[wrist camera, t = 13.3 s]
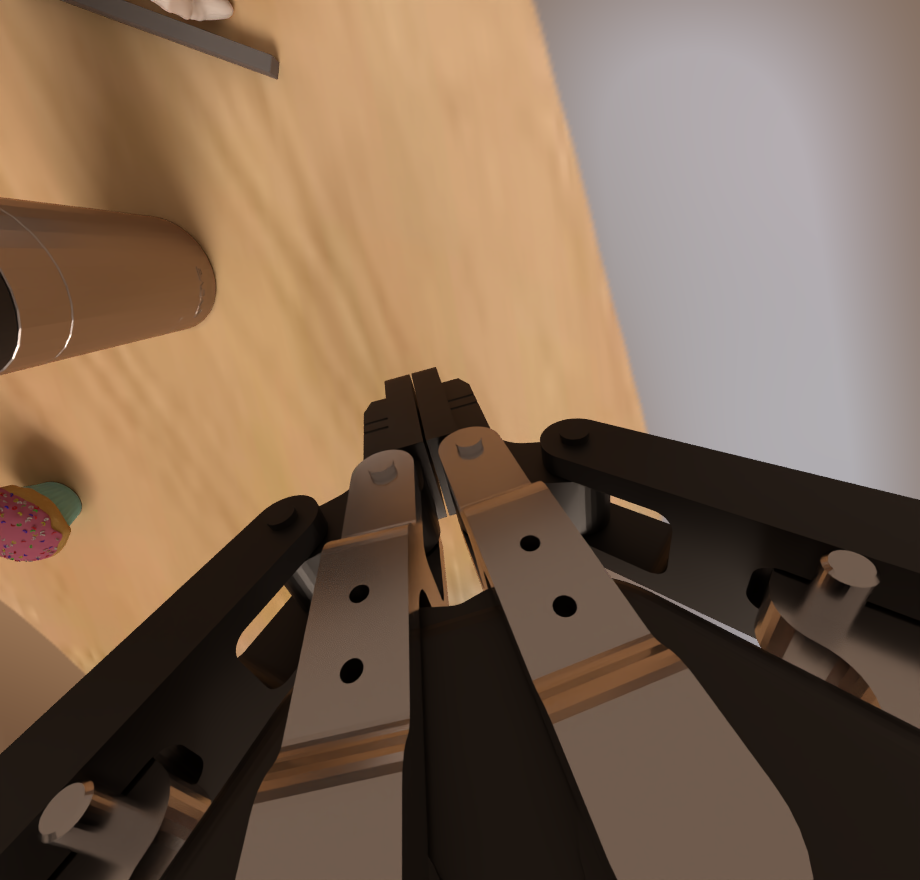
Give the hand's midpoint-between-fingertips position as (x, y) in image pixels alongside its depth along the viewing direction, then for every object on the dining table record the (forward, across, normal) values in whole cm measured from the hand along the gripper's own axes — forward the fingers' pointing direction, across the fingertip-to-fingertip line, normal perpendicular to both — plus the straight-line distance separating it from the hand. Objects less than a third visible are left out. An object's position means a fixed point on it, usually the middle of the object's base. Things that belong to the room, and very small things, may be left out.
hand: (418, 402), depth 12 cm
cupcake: (+32, +42, +17) cm, 56 cm away
